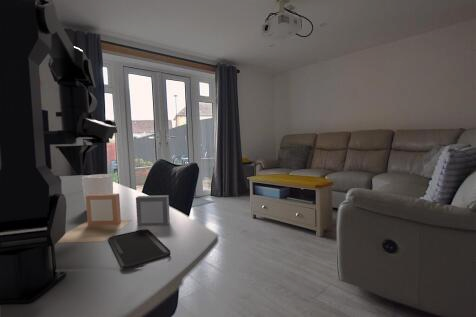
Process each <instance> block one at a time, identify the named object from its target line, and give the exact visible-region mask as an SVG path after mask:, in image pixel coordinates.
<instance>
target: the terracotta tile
mask: <svg viewBox="0 0 476 317" xmlns="http://www.w3.org/2000/svg"><path fill="white" fill-rule="evenodd" d="M86 207H87V210H86V220H87V221H88V225H118V224H119V223H121V220H122V219H121V218H122V216H121V201H120V193H113V194H89V195H87V196H86V203H85V208H86ZM87 221H86V222H87Z"/></svg>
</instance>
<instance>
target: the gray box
mask: <svg viewBox="0 0 476 317" xmlns="http://www.w3.org/2000/svg"><path fill="white" fill-rule="evenodd" d="M135 207H136V208H135V209H136V224H137V226H138V227H140V226H141V227H142V226H143V227H145V226H148V227H149V226H168V225H169V224H170V222H171V221H170V218H171V217H170V200H169V195H168V194H167V195H165V194H164V195H162V194H161V195H138V196H136V197H135Z"/></svg>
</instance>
